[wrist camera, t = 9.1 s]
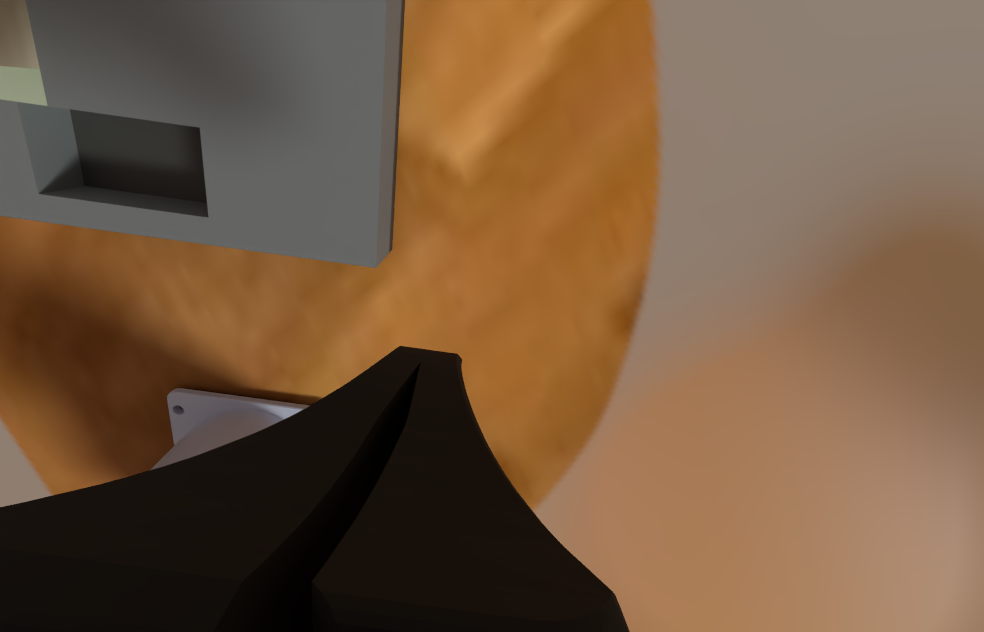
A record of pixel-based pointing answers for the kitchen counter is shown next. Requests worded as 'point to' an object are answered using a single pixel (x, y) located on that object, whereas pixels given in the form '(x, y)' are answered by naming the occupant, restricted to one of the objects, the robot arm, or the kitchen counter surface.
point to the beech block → (16, 36)
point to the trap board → (210, 123)
